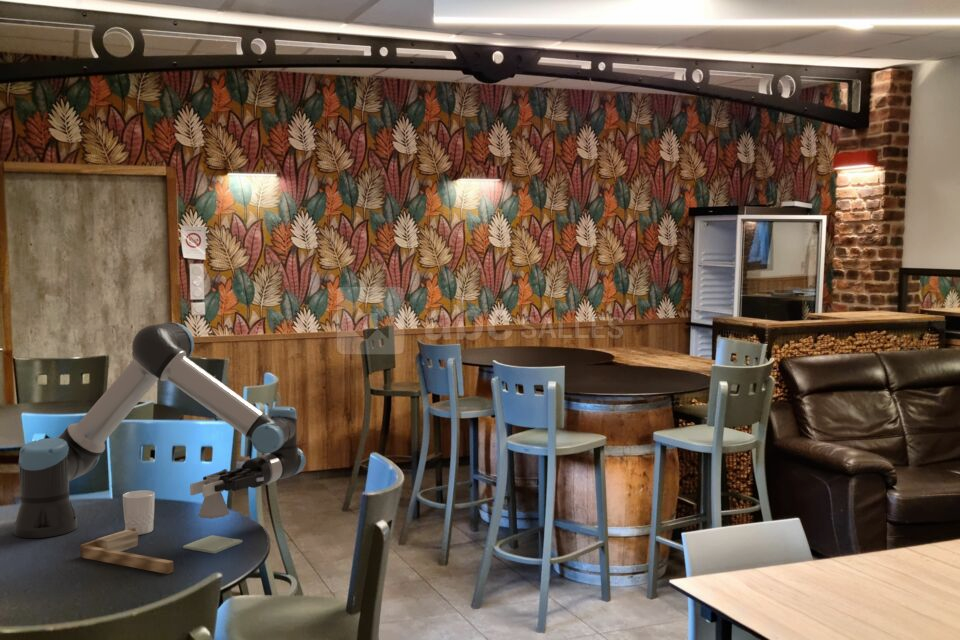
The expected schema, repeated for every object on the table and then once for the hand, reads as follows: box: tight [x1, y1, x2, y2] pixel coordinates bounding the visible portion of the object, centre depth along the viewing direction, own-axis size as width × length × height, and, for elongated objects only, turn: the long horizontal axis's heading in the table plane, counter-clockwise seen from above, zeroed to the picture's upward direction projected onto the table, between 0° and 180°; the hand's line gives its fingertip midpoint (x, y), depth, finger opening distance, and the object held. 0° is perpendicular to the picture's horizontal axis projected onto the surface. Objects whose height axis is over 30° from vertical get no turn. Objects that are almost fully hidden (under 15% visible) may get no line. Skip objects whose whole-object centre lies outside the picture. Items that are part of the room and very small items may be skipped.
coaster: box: [182, 534, 243, 554], centre depth 228 cm, size 10×10×1 cm
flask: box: [197, 474, 231, 519], centre depth 227 cm, size 7×7×10 cm
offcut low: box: [110, 539, 139, 552], centre depth 224 cm, size 4×9×2 cm, turn 153°
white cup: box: [122, 489, 156, 536], centre depth 240 cm, size 8×8×10 cm
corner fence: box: [79, 528, 174, 575], centre depth 219 cm, size 28×16×3 cm, turn 64°
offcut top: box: [95, 529, 139, 549], centre depth 224 cm, size 4×9×2 cm, turn 151°
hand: (197, 490), depth 222 cm, fingers closed on flask, 3 cm apart
